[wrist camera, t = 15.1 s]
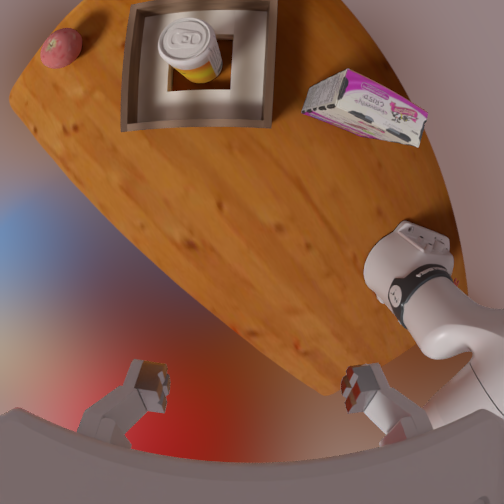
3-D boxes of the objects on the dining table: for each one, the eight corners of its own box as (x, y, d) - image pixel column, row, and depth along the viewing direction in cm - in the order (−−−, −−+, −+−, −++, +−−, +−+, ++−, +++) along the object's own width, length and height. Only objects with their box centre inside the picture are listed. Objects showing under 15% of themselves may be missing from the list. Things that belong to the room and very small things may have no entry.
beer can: (186, 47, 31) (162, 14, 18) (226, 50, 32) (219, 15, 19) (179, 82, 34) (149, 63, 21) (218, 85, 35) (208, 65, 21)
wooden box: (271, 14, 29) (277, -4, 23) (265, 127, 38) (271, 128, 32) (145, 19, 28) (131, 4, 22) (138, 129, 37) (120, 132, 31)
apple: (64, 35, 26) (40, 27, 19) (95, 32, 27) (72, 21, 20) (53, 71, 29) (26, 68, 22) (82, 70, 30) (56, 65, 23)
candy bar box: (370, 111, 37) (430, 112, 22) (361, 137, 39) (420, 150, 24) (308, 84, 35) (347, 65, 20) (299, 113, 37) (335, 108, 23)
